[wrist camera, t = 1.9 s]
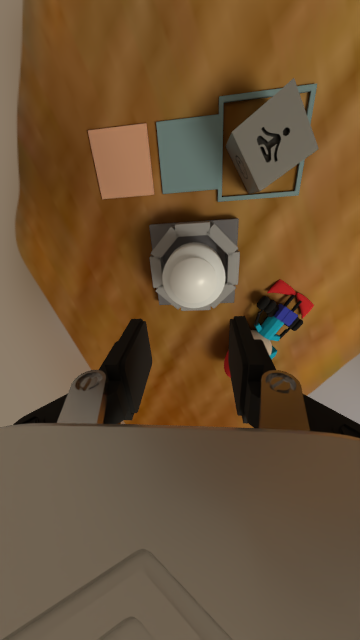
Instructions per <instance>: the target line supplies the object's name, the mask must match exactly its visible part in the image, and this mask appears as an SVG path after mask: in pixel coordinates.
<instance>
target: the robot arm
mask: <svg viewBox="0 0 360 640" xmlns="http://www.w3.org/2000/svg"><path fill="white" fill-rule="evenodd" d="M228 364H229V370H230V375H231V381H232V386H233V392H234V398H235V403H236V409H237V414H238V415H241V416H242V419H243V423H249V424H250V425H251V426H253V427H254V428H231V427H203V426H169V425H134V424H120V422H121V421H123V420H132V418H133V415H134V413H137V412H138V409H139V406H140V403H141V399H142V396H143V392H144V389H145V386H146V382H147V379H148V376H149V372H150V369H151V366H152V356H151V350H150V344H149V338H148V332H147V326H146V322H145V321H143V320H142V319H131V321H130V322H129V324H128V326H127V327H126V329H125V331H124V332H123V334H122V336H121V338H120V339H119V341H117V342H116V343H115V344H114V346H113V347H112V349H111V351H110V352H109V354H108V356H107V357H106V359H105V360H104V362H103V364H102V365H101V367H100V369H99V370H91V371H87V372H85V373H83V374H81V375H80V376H78V377H77V378H76V379H75V380H74V381H73V383H72V385H71V387H70V390H69V393H68V394H66V395H64V396H62V397H60V398H58V399H57V400H55V401H53V402H51V403H49V404H47V405H45V406H43V407H41V408H39V409H37V410H35V411H33V412H31V413H29V414H28V415H26V416H24V417H22V418H21V419H19V420H18V421H17V422H16V423H14V424H13V425H10V426H5V427H0V640H360V424H358V423H356V422H354V421H352V420H350V419H349V418H347V417H345V416H343V415H341V414H339V413H337V412H336V411H334V410H332V409H330V408H328V407H326V406H324V405H323V404H321V403H319V402H317V401H315V400H313V399H312V398H310V397H308V396H306V395H304V394H303V393H302V388H301V385H300V382H299V381H298V380H297V379H296V378H295V377H294V376H293V375H291V374H289V373H287V372H284V371H280V370H276V369H275V366H274V364H273V362H272V360H271V358H270V356H269V353H268V351H267V349H266V347H265V345H264V342H263V341H262V340H261V339H254V338H253V335H252V333H251V330H250V328H249V325H248V323H247V320H246V318H245V316H235V317H234V319H230V331H229V353H228Z"/></svg>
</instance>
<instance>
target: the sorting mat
mask: <svg viewBox="0 0 360 640" xmlns="http://www.w3.org/2000/svg"><path fill="white" fill-rule="evenodd" d="M297 88H298V91H299V93H305V92H310V95H309V101H308V108H307V117H308V120H309V123H310V124H311V118H312V112H313V106H314V100H315V94H316V88H317V84H310V85H303V86H297ZM281 89H282V88H280V89H272V90H265V91H257V92H250V93H242V94H235V95H227V96H219V114H217V115H209V116H201V117H193V118H185V119H177V120H169V121H161V122H156V125H157V136H158V147H159V157H160V168H161V179H162V189H163V194H167V193H179V192H190V191H202V190H213V189H218V202H221V201H234V200H246V199H258V198H271V197H283V196H296V195H299V190H300V184H301V178H302V172H303V166H304V160H305V159H304V160H303V161H301V162H300V163H299V165H298V171H297V178H296V184H295V190H294V191H291V192H279V193H267V194H255V195H243V196H231V197H222V157H223V105H224V103H228V102H235V101H243V100H251V99H259V98H267V97H273V96H274V95H275V94H276V93H277V92H279V91H280V90H281ZM88 134H89V139H90V144H91V148H92V153H93V158H94V163H95V167H96V172H97V177H98V181H99V186H100V191H101V196H102V199H110V198H121V197H133V196H144V195H154V187H153V178H152V169H151V160H150V151H149V141H148V132H147V124H146V123H145V124H136V125H128V126H120V127H112V128H104V129H96V130H88Z"/></svg>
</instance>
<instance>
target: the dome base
mask: <svg viewBox="0 0 360 640" xmlns="http://www.w3.org/2000/svg"><path fill="white" fill-rule="evenodd" d="M238 220H239V219H238V218H234V219H220V220H206V221H192V222H178V223H164V224H151V225H149V227H150V235H151V243H152V252H151V254H152V255H151V256H150V257H149V258H150V265H151V272H152V280H153V287H154V288H157V289H156V292H157V293H158V298H159V305H171V304H172V305H173V306H174V307H176V308H177V309H179V308H180V307H181V311H187V310H210V306H212V307H213V308H215V307H216V306H217V305H218V304H219V303H234V295H235V289H236V287H235V285H237V284H238V274H239V257H240V252H239V251H238V250H237V249H238V247H237V239H238ZM192 242H198V243H203V244H206V245H208V246H210V247H211V248H212V249H214V250H215V251H216V252H217V254H218V255H219V257H220V259H221V261H222V264H223V267H224V270H225V285H224V288H223V290H222V292H221V294H220V295H219V297H218V298H217V299H216V300H215V301H213V302H212V303H211V304H209V305H207V306H204V307H200V308H187V307H183V306H181V305H179V304H177V303H175V302H174V301H173V300H172V299H171V298H170V297H169V296H168V294H167V293H166V291H165V289H164V286H163V281H162V275H163V270H164V267H165V264H166V263H167V261H168V259H169V257H170V256H171V254H172V253H173V252H174V251H175V250H176V249H177V248H178V247H180V246H182V245H184V244H187V243H192Z"/></svg>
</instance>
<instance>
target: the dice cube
mask: <svg viewBox="0 0 360 640" xmlns="http://www.w3.org/2000/svg"><path fill="white" fill-rule="evenodd" d="M225 147H226V149H227V151H228V153H229V155H230V157H231V159H232V161H233V163H234V165H235V167H236V169H237V171H238V173H239V175H240V177H241V179H242V181H243V183H244V185H245V187H246V189H247V191H248V193H249V194H250V193H255V192H260V191H261V190H263V189H264V188H265V187H267V186H268V185H269V184H271V183H272V182H274V181H275V180H276V179H278V178H279V177H281V176H282V175H283V174H285V173H286V172H287V171H289V170H290V169H292V168H293V167H294V166H296V165H297V164H298V163H300V162H301V161H303V160H304V159H305V158H307V157H308V156H309V155H311V154H312V153H314V152H315V151H316V150H318V146H317V143H316V140H315V137H314V134H313V131H312V128H311V126H310V123H309V120H308V117H307V114H306V111H305V108H304V105H303V102H302V100H301V97H300V94H299V91H298V88H297V85H296V82H295V79H292V80H291V81H290V82H289V83H288V84H287V85H285V86H284V87H283V88H282V89H281V90H280V91H279V92H277V93H276V94H275V95H274V96H273V97H272V98H270V99H269V100H268V101H267V102H266V103H265V104H264V105H262V106H261V107H260V108H259V109H258V110H257V111H255V112H254V113H253V114H252V115H251V116H250V117H249V118H247V119H246V120H245V121H244V122H243V123H242V124H240V125H239V126H238V127H237V128H236V129H235V130H234V131H232V133H231V135H230V137H229V140H228V142H227V144H226V146H225Z"/></svg>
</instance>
